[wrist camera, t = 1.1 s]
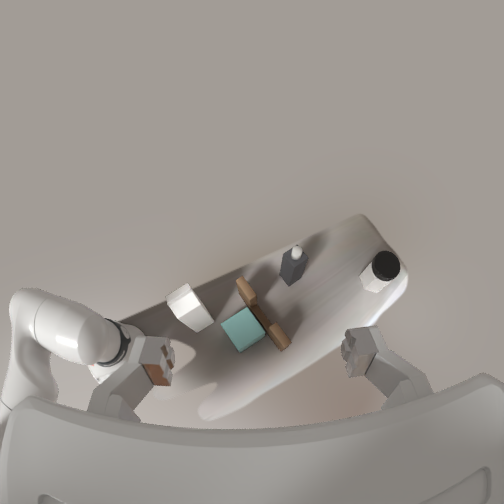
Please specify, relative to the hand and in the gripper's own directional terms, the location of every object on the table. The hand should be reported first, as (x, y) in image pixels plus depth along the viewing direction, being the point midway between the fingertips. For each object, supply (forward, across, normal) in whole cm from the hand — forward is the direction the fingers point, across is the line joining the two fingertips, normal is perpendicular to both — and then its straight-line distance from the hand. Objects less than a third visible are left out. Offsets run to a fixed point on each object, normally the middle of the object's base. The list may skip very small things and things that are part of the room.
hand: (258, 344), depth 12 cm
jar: (+52, +37, -39) cm, 75 cm away
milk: (+45, -14, -45) cm, 65 cm away
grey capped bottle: (+54, +12, -38) cm, 67 cm away
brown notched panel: (+44, +3, -45) cm, 63 cm away
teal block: (+41, -2, -46) cm, 62 cm away
